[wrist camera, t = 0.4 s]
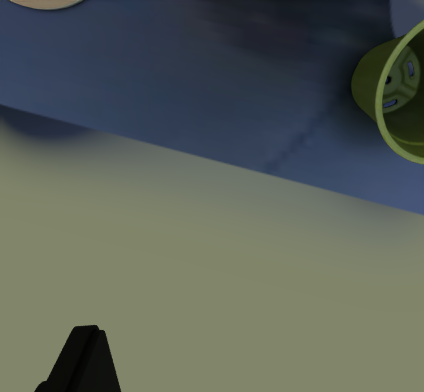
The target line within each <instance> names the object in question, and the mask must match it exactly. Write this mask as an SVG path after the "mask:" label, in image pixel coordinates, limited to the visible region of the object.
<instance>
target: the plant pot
mask: <svg viewBox="0 0 424 392" xmlns="http://www.w3.org/2000/svg"><path fill="white" fill-rule="evenodd" d="M409 62H411V63H412V65H413V69H414V75H413V76H409V67H408V65H407V63H409ZM388 76H389V77H390V78H391V81H390V82H389V83H388V84H385V82H386V79H387V77H388ZM411 85H412V86H411ZM351 90H352V95H353V98H354V100H355V102H356V103H357V105H358V106H359V107H360V108H361V109H362V110H363V111H364V112H365V113H366V114H368V115H369V116H370V117H371V118H372V119H373V120H374V121H375V122H376V123H377V125H378V128H379V130H380V133H381V135H382V137H383V139H384V140H385V141H386V143H387V144H388V145H389V146H390V148H391V149H392V150H393V151H395V152H396V153H397V154H398V155H400V156H401V157H403V158H405V159H407V160H409V161H412V162H415V163H419V164H424V20H422V21H421V22H420V23H418V24H417V25H416V26H415V27H414V28H412V29H411V30H410V31H409V32H408V33H407V34H405V35H403V36H401V37H398V38H396V39H393V40H391V41H388V42H386V43H383V44H381V45H378V46H376V47H374V48H373V49H371V50H370V51H369V52H367V53H366V54H365V55H364V56H363V57H362V59H361V60H360V61H359V63H358V65H357V67H356V69H355V71H354V74H353V76H352V81H351ZM396 99H397V103H396V104H394V105H392V106H390V107H386V108H385V107H383V105H384V104H385V103H388V102H391V101H393V100H396Z"/></svg>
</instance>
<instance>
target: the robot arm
mask: <svg viewBox="0 0 424 392" xmlns="http://www.w3.org/2000/svg"><path fill="white" fill-rule="evenodd" d="M34 392H121V389H120V386H119V382H118V378H117V374H116V371H115V367H114V363H113V359H112V356H111V352H110V349H109V344H108V341H107V337H106V334H105V331H104V330H99V328H98V326H97V325H88V326H76V327H74V328H73V330H72V331H71V333H70V335H69V337H68V339H67V341H66V343H65V345H64V347H63V349H62V351H61V353H60V355H59V357H58V359H57V361H56V363H55V365H54V367H53V369H52V371H51V373H50V375H49V377H48V379H47V381H43V382H42V383H41V384H39V385H38V387H37V388H36V390H35V391H34Z"/></svg>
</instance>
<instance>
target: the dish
mask: <svg viewBox="0 0 424 392" xmlns="http://www.w3.org/2000/svg"><path fill="white" fill-rule="evenodd" d="M10 1H12V2H14V3H17V4H20V5H23V6H26V7H30V8H35V9H40V10H59V9H64V8H68V7H71V6H73V5H76V4H78V3H80V2H82V1H83V0H10Z"/></svg>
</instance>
